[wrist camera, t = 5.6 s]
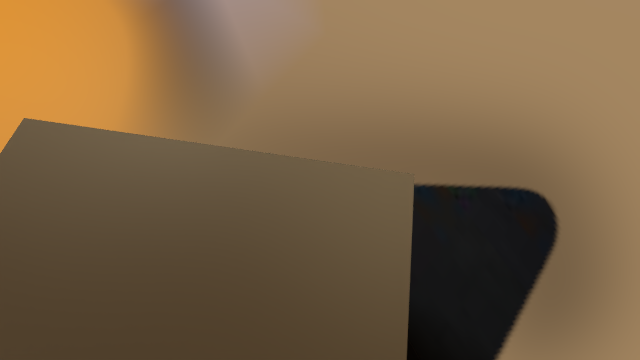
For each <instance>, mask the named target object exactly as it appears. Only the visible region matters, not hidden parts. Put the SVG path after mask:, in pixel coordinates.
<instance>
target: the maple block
mask: <svg viewBox="0 0 640 360" xmlns="http://www.w3.org/2000/svg"><path fill="white" fill-rule="evenodd" d="M413 192H414V174H409V173H402V172H394V171H388V170H380V169H374V168H367V167H360V166H353V165H346V164H339V163H332V162H325V161H318V160H312V159H305V158H298V157H291V156H283V155H277V154H270V153H263V152H256V151H249V150H242V149H235V148H228V147H221V146H214V145H207V144H201V143H194V142H187V141H180V140H173V139H166V138H158V137H152V136H145V135H138V134H131V133H124V132H117V131H109V130H103V129H96V128H89V127H82V126H76V125H69V124H61V123H55V122H48V121H41V120H34V119H27V118H24V119H23V120H22V122H21V123H20V125H19V126H18V128H17V129H16V131H15V133H14V134H13V136H12V137H11V138H10V140H9V141H8V143H7V144H6V146H5V147H4V149H3V150H2V152H1V153H0V360H407V336H408V312H409V288H410V264H411V240H412V216H413Z"/></svg>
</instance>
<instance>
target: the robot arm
mask: <svg viewBox="0 0 640 360" xmlns="http://www.w3.org/2000/svg"><path fill="white" fill-rule="evenodd" d="M407 360H421V359H420V358H419V356H418V354H417V352H416V351H415V349H414V347H413V346H412V344H411V342H410V340H409V339H408V337H407Z"/></svg>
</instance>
